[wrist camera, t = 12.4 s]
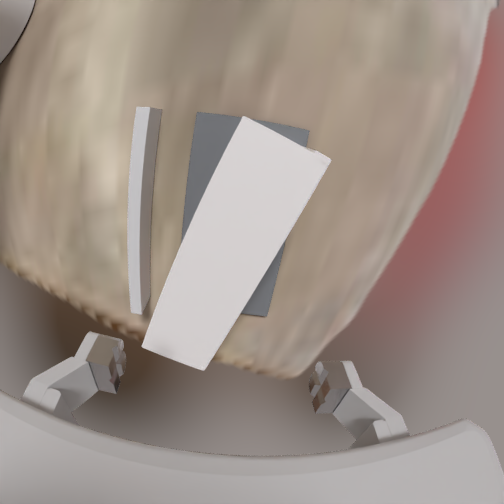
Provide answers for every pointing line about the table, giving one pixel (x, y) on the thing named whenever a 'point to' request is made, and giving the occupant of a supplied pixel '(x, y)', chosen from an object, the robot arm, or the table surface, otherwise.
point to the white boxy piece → (232, 241)
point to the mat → (202, 169)
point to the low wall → (141, 204)
